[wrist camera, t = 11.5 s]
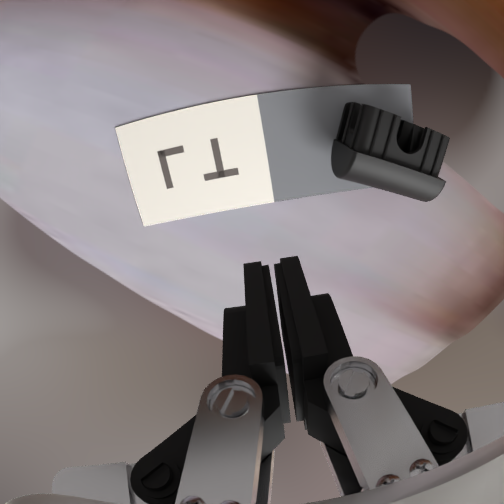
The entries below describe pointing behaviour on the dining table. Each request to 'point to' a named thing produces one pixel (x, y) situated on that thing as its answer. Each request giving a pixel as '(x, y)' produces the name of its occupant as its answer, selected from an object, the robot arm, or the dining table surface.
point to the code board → (197, 160)
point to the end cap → (388, 153)
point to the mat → (317, 133)
